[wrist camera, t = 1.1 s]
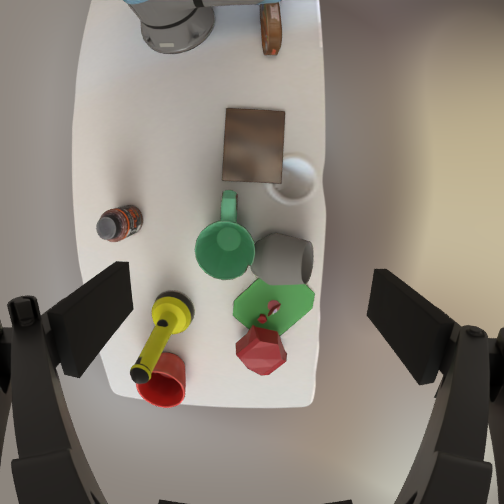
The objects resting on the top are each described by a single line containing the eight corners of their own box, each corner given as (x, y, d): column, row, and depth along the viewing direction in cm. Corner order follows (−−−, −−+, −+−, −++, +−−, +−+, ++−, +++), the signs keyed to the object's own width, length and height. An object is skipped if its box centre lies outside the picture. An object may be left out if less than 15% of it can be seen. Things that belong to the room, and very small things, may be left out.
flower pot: (198, 379, 66) (191, 406, 57) (157, 384, 67) (147, 409, 57) (183, 343, 64) (174, 368, 54) (141, 349, 64) (127, 373, 55)
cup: (244, 233, 51) (300, 237, 47) (267, 230, 60) (315, 233, 55) (243, 287, 53) (297, 295, 48) (265, 277, 61) (313, 283, 57)
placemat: (226, 108, 52) (226, 108, 51) (284, 112, 52) (285, 111, 52) (222, 180, 55) (222, 180, 55) (280, 183, 56) (281, 183, 55)
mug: (252, 264, 59) (252, 282, 50) (202, 261, 59) (194, 277, 49) (258, 189, 56) (260, 192, 46) (206, 186, 56) (197, 188, 46)
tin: (259, 4, 46) (260, -17, 38) (274, 4, 46) (277, -17, 38) (263, 61, 49) (265, 44, 41) (279, 61, 49) (283, 44, 41)
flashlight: (165, 410, 39) (167, 365, 37) (110, 394, 38) (107, 349, 36) (192, 331, 63) (197, 295, 61) (153, 323, 63) (155, 286, 60)
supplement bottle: (149, 223, 57) (127, 234, 46) (127, 239, 58) (103, 252, 47) (133, 198, 56) (109, 204, 45) (112, 215, 57) (85, 224, 46)
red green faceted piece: (210, 322, 62) (205, 345, 54) (279, 258, 59) (284, 273, 50) (259, 362, 65) (261, 387, 57) (327, 306, 62) (338, 326, 53)
